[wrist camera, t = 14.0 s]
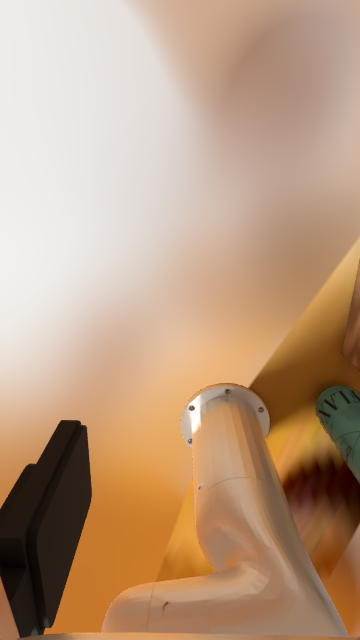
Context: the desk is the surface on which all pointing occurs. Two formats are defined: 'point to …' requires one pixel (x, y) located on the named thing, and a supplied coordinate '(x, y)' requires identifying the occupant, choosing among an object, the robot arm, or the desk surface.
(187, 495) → the desk surface
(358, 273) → the brown wooden block
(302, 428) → the desk surface
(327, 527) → the desk surface
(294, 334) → the desk surface
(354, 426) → the beverage bottle
